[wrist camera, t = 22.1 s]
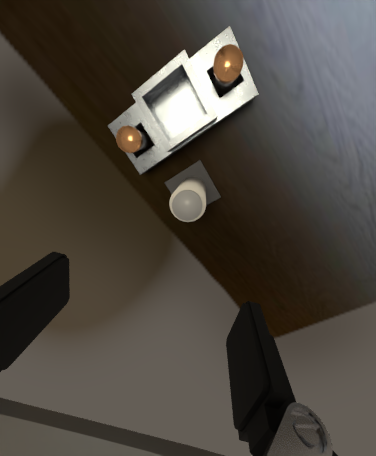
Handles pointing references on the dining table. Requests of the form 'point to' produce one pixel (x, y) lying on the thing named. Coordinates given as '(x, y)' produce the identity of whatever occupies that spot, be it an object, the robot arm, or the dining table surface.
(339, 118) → the dining table surface
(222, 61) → the plunger
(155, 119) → the housing
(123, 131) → the plunger
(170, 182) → the mat
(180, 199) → the cylinder
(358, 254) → the dining table surface
